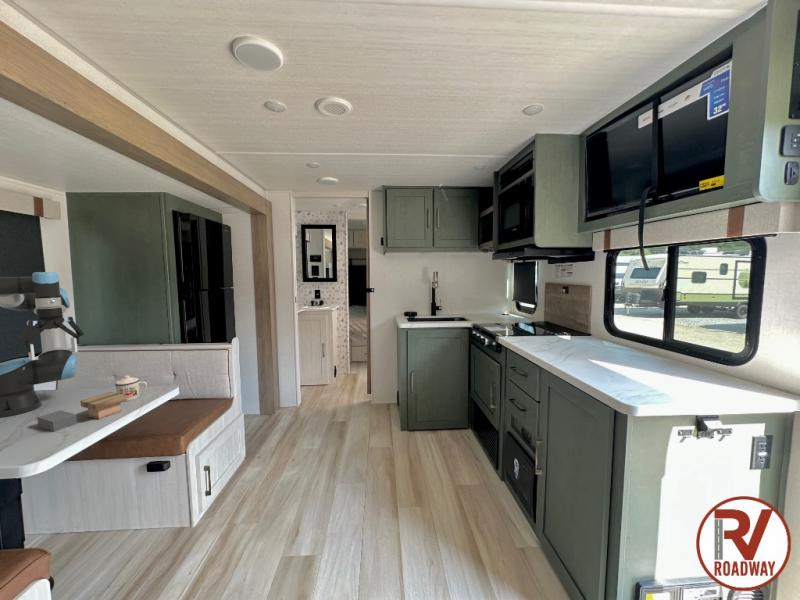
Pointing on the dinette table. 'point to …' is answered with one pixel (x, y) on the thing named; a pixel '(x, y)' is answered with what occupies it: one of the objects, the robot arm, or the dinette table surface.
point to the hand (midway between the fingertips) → (54, 355)
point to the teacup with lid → (129, 387)
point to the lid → (103, 400)
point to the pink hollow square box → (105, 411)
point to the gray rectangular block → (57, 420)
